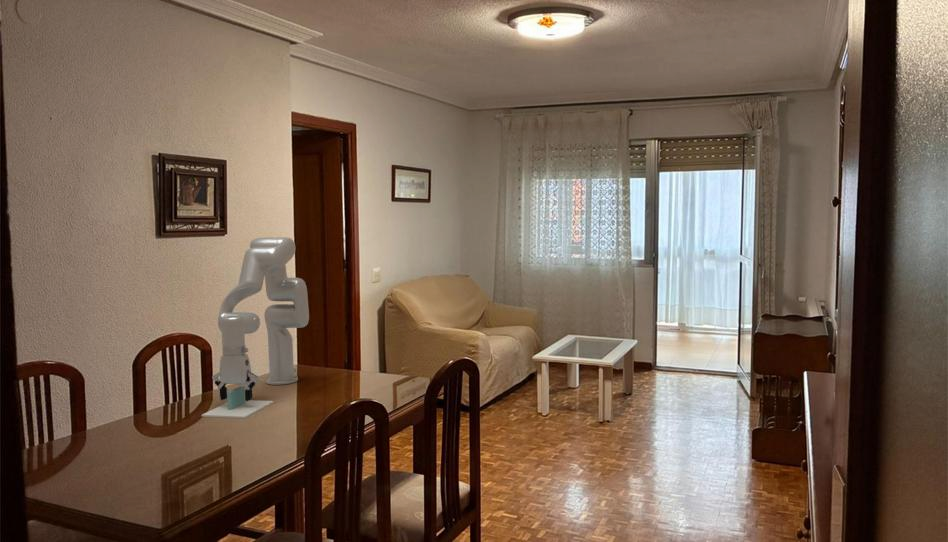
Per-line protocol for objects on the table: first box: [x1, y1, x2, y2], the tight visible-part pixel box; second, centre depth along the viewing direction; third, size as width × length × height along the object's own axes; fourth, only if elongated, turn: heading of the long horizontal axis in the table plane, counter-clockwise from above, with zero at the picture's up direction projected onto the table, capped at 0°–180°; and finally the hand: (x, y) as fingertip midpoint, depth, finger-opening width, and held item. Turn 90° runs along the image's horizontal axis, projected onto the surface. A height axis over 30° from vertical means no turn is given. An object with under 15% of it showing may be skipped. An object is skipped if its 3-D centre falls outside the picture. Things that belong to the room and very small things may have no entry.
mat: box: [201, 399, 275, 419], centre depth 245 cm, size 20×16×1 cm
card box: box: [226, 385, 246, 410], centre depth 247 cm, size 9×2×6 cm, turn 169°
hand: (236, 399), depth 247 cm, fingers open, 9 cm apart
